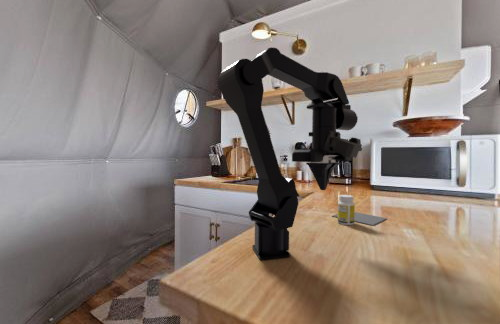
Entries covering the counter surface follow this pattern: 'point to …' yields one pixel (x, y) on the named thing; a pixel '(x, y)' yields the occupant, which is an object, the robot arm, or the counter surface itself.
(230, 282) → the counter surface
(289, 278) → the counter surface
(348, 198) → the supplement bottle
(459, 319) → the counter surface
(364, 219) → the mat
